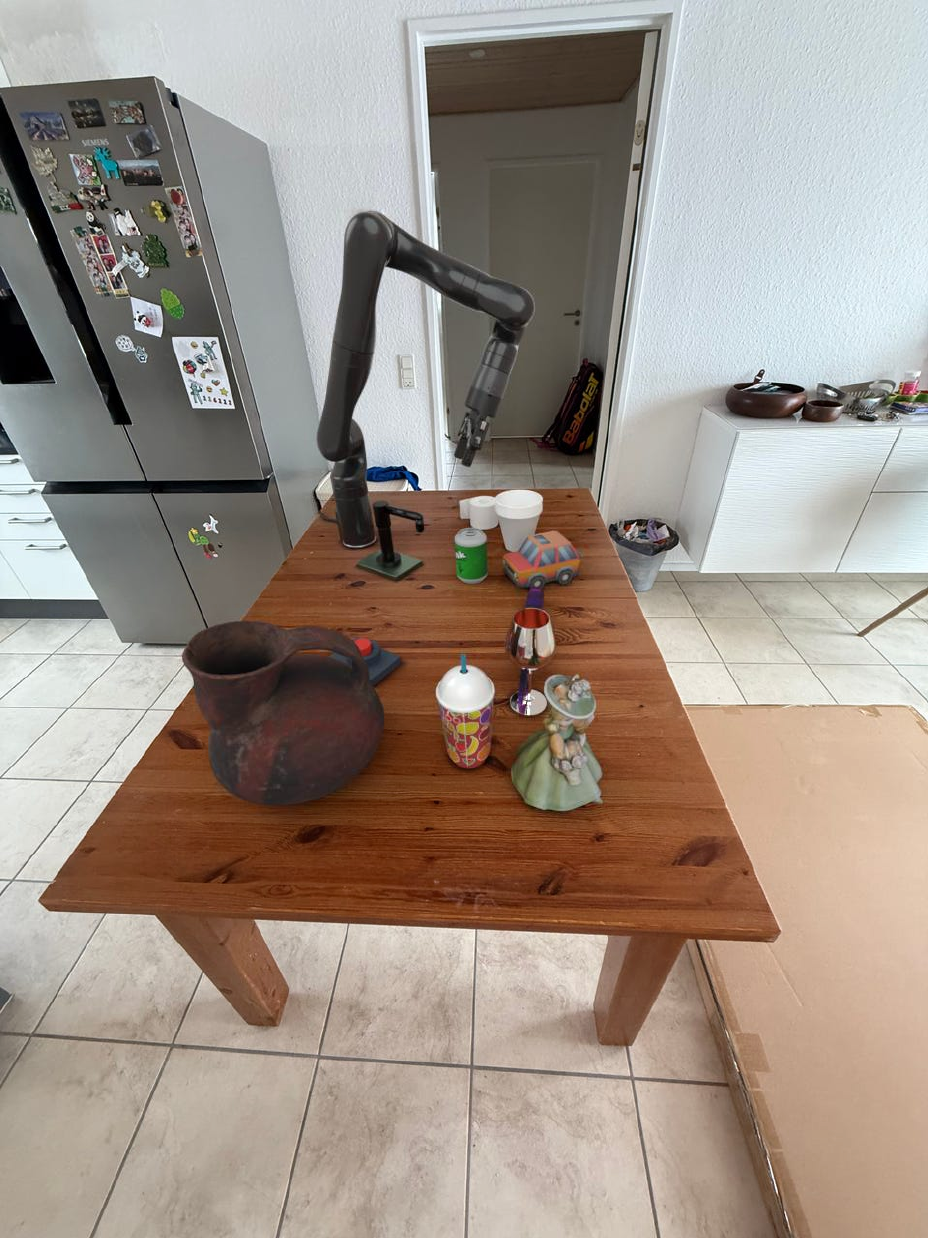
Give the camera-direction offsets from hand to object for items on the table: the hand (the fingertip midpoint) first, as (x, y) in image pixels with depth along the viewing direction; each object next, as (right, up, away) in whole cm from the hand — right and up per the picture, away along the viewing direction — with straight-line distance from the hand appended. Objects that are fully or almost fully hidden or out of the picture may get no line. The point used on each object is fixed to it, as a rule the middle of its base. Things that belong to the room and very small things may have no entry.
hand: (461, 461), depth 119 cm
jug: (-24, -59, -38) cm, 74 cm away
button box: (-19, -45, -19) cm, 53 cm away
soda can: (+3, -27, +6) cm, 28 cm away
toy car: (+19, -27, +5) cm, 33 cm away
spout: (-15, -15, +4) cm, 22 cm away
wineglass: (+12, -51, -30) cm, 61 cm away
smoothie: (+1, -58, -39) cm, 70 cm away
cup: (+15, -17, +19) cm, 30 cm away
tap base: (-19, -23, +13) cm, 32 cm away
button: (-19, -43, -21) cm, 51 cm away
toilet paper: (+5, -8, +33) cm, 34 cm away
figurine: (+14, -61, -44) cm, 77 cm away
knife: (+13, -43, -19) cm, 49 cm away
